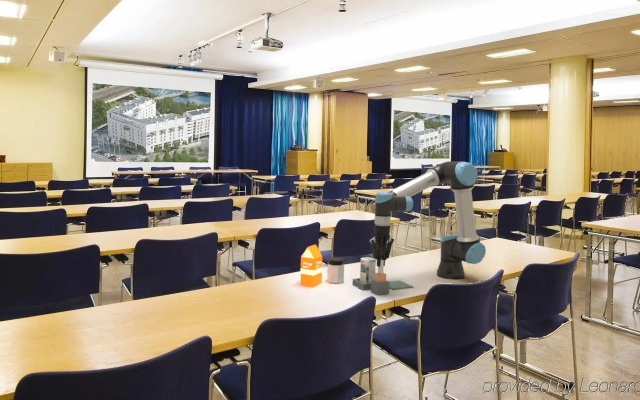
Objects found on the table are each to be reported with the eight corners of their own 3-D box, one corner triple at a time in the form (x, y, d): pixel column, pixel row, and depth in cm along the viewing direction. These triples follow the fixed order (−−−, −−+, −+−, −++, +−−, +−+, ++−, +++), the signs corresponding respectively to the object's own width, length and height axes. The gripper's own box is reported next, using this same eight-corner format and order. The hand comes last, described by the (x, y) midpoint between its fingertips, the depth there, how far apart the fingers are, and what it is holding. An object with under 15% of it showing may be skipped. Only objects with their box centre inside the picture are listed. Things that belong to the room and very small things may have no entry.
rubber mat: (399, 281, 256) (399, 280, 256) (413, 287, 245) (413, 286, 245) (380, 283, 251) (380, 282, 251) (393, 289, 240) (393, 288, 240)
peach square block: (381, 280, 236) (381, 272, 236) (386, 282, 233) (386, 274, 232) (374, 280, 235) (374, 272, 234) (379, 283, 231) (379, 274, 231)
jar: (324, 282, 250) (325, 259, 249) (329, 278, 258) (329, 256, 257) (341, 284, 248) (342, 261, 247) (345, 280, 256) (346, 258, 254)
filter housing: (370, 282, 252) (371, 271, 252) (393, 293, 234) (393, 281, 233) (352, 284, 248) (352, 273, 247) (373, 295, 229) (373, 283, 229)
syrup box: (359, 286, 246) (360, 257, 244) (367, 284, 249) (368, 256, 248) (366, 288, 241) (367, 260, 240) (375, 286, 245) (376, 258, 243)
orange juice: (321, 283, 249) (322, 245, 247) (313, 287, 241) (314, 247, 239) (308, 281, 253) (309, 243, 251) (300, 284, 245) (300, 246, 243)
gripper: (374, 226, 225) (372, 276, 227) (398, 225, 230) (396, 273, 233) (366, 224, 232) (364, 272, 234) (389, 223, 237) (387, 270, 239)
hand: (380, 273), depth 233 cm, fingers closed
